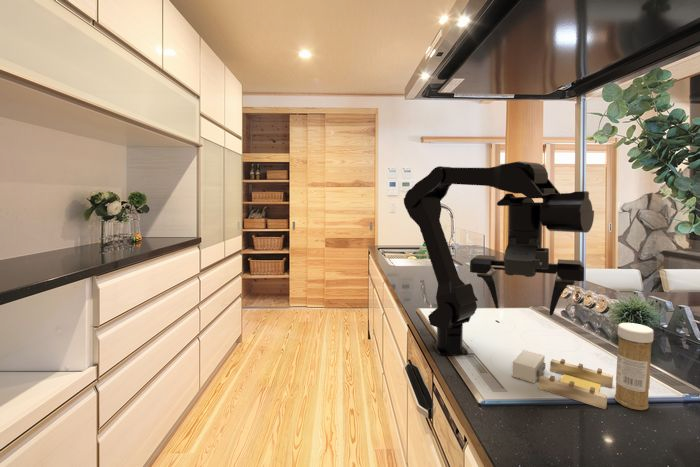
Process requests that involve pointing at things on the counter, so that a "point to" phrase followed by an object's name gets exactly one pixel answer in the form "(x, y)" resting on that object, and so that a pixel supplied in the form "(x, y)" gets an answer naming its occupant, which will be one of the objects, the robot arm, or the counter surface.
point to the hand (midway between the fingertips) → (523, 311)
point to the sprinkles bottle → (633, 365)
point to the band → (580, 382)
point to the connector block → (528, 366)
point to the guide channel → (575, 391)
